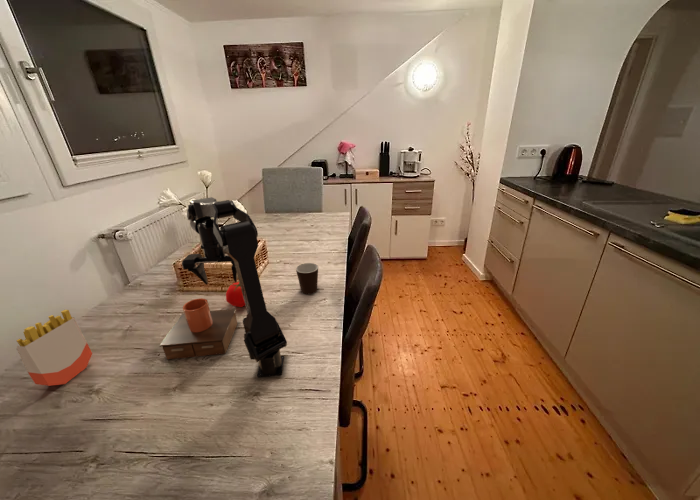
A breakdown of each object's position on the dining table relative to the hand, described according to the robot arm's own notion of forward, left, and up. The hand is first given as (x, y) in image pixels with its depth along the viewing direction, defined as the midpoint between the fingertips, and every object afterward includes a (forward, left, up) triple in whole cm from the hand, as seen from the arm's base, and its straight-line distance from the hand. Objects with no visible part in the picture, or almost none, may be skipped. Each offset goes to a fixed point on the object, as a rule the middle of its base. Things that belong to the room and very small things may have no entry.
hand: (221, 282), depth 93 cm
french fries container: (-21, +36, -13) cm, 44 cm away
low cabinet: (-12, +4, -13) cm, 18 cm away
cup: (-12, +4, -8) cm, 15 cm away
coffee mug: (+14, -28, -13) cm, 34 cm away
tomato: (+7, -3, -13) cm, 15 cm away
